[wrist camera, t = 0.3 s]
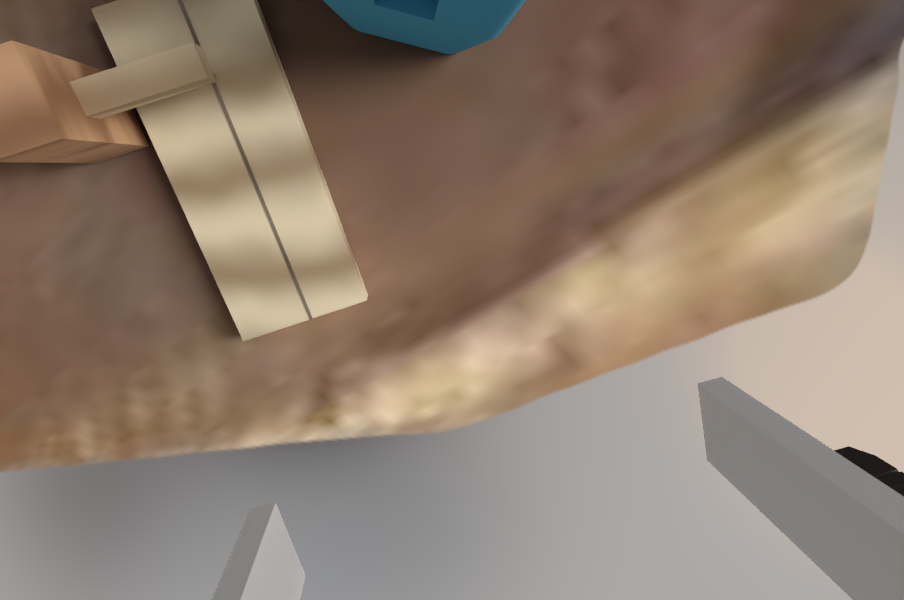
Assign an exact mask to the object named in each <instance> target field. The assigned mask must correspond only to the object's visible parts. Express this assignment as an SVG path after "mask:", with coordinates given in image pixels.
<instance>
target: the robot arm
mask: <svg viewBox="0 0 904 600" xmlns="http://www.w3.org/2000/svg"><path fill="white" fill-rule="evenodd" d="M698 390H699V398H700V406H701V413H702V421H703V430H704V438H705V446H706V453H707V460H708V461H709V462H710V463H711V464H712V465H713V466H714V467H715V468H716V469H717V470H718V471H719V472H720V473H721V474H722V475H723V476H724V477H725V478H726V479H728V481H729V482H730V483H732V484H733V485H734V486H735V487H736V488H737V489H738V490H739V491H740V492H741V493H742V494H743V495H744V496H745V497H746V498H747V499H748V500H749V501H750V502H751V503H752V504H753V505H755V506H756V507H757V508H758V509H759V510H760V511H761V512H762V513H763V514H764V515H765V516H766V517H767V518H768V519H769V520H770V521H771V522H772V523H773V524H774V525H775V526H776V527H778V528H779V529H780V530H781V531H782V532H783V533H784V534H785V535H786V536H787V537H788V538H789V539H790V540H791V541H792V542H793V543H794V544H795V545H796V546H797V547H798V548H800V549H801V550H802V551H803V552H804V553H805V554H806V555H807V556H808V557H809V558H810V559H811V560H812V561H813V562H814V563H815V564H816V565H817V566H818V567H819V568H820V569H821V570H822V571H824V572H825V573H826V574H827V575H828V576H829V577H830V578H831V579H832V580H833V581H834V582H835V583H836V584H837V585H838V586H839V587H840V588H841V589H842V590H843V591H844V592H845V593H847V594H848V595H849V596H850V597H851V598H852V599H853V600H904V473H903V472H898V470H897V469H896V468H895V467H893V466H891V465H890V464H888V463H886V462H885V461H883V460H882V459H880V458H878V457H877V456H875V455H871V454H869V453H866V452H863V451H860V450H857V449H854V448H851V447H845V448H842V449H839V450H835V451H834V450H832V449H831V448H829V447H828V446H826V445H825V444H823V443H821V442H820V441H818V440H817V439H815V438H814V437H812V436H811V435H809V434H808V433H806V432H805V431H803V430H802V429H800V428H798V427H797V426H796V425H794V424H793V423H791V422H789V421H788V420H786V419H785V418H783V417H782V416H780V415H779V414H777V413H776V412H774V411H773V410H771V409H769V408H768V407H767V406H765V405H764V404H762V403H761V402H759V401H757V400H756V399H754V398H753V397H751V396H750V395H748V394H747V393H745V392H744V391H742V390H741V389H739V388H738V387H736V386H735V385H733V384H732V383H730V382H729V381H727V380H726V379H724V378H722V377H720V378H716V379H712V380H709V381H705V382H702V383H698ZM304 580H305V574H304V571H303V569H302V566H301V564H300V561H299V559H298V556H297V554H296V551H295V549H294V547H293V544H292V542H291V540H290V537H289V534H288V532H287V529H286V527H285V525H284V522H283V520H282V517H281V515H280V512H279V510H278V508H277V505H276V503H272V504H268V505H265V506H261V507H258V508H254V509H250V511H249V513H248V516H247V518H246V520H245V523H244V525H243V528H242V530H241V532H240V534H239V537H238V539H237V541H236V544H235V546H234V549H233V551H232V553H231V556H230V558H229V560H228V563H227V565H226V568H225V570H224V572H223V574H222V577H221V579H220V582H219V584H218V586H217V588H216V591H215V593H214V595H213V598H212V600H300V598H301V593H302V589H303V585H304Z"/></svg>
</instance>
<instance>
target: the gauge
mask: <svg viewBox="0 0 904 600" xmlns="http://www.w3.org/2000/svg"><path fill="white" fill-rule="evenodd" d="M216 80H217V77H216V75H215V73H213V72H212V70H211V68H210V65H209V63H208V60H207V58H206V55H205V53H204V51H203V48H202V47H200V46H198V45H197V44H195V43H193V42H192V43H189V44H186V45H183V46H180V47H177V48H173V49H170V50H167V51H164V52H161V53H158V54H155V55H152V56H148V57H145V58H142V59H139V60H136V61H133V62H130V63H127V64H123V65H120V66H117V67H114V68H111V69H108V70H105V71H104V70H101V69H98V68H95V67H92V66H89V65H86V64H83V63H80V62H77V61H74V60H71V59H68V58H64V57H61V56H58V55H55V54H52V53H49V52H46V51H43V50H40V49H37V48H34V47H31V46H28V45H25V44H22V43H19V42H16V41H13V40H12V41H8V42H5V43H2V44H0V162H29V163H99V162H102V161H105V160H108V159H111V158H114V157H117V156H120V155H124V154H127V153H130V152H133V151H136V150H139V149H142V148H145V147H148V146H149V144H148V142H147V140H146V137H145V135H144V133H143V131H142V129H141V127H140V124H139V122H138V120H137V118H136V116H135V114H134V111H133V108H136V107H139V106H142V105H145V104H148V103H151V102H155V101H158V100H161V99H164V98H167V97H170V96H173V95H176V94H179V93H182V92H186V91H189V90H192V89H195V88H198V87H201V86H204V85H207V84H214V83H215V82H216Z"/></svg>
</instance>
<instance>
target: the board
mask: <svg viewBox="0 0 904 600" xmlns="http://www.w3.org/2000/svg"><path fill="white" fill-rule="evenodd" d="M91 10H92V13H93V15H94V17H95V19H96V21H97V24H98V26H99V28H100V30H101V32H102V34H103V37H104V39H105V41H106V43H107V45H108V48H109V50H110V52H111V54H112V56H113V58H114V61H115V63H116V65H117V66H120V65H123V64H127V63H130V62H133V61H136V60H139V59H142V58H145V57H148V56H152V55H155V54H158V53H161V52H164V51H167V50H170V49H173V48H177V47H180V46H183V45H186V44H189V43H192V42H193V43H195V44H197V45H198V46H200V47H202V48H203V51H204V53H205V55H206V58H207V60H208V63H209V65H210V68H211V70H212V72H213V73H215V75H216V77H217V80H216V82H215V83H214V84H207V85H204V86H201V87H198V88H195V89H192V90H189V91H186V92H182V93H179V94H176V95H173V96H170V97H167V98H164V99H161V100H158V101H155V102H151V103H148V104H145V105H142V106H139V107H136V109H137V111H138V113H139V115H140V117H141V119H142V122H143V124H144V126H145V128H146V130H147V133H148V135H149V137H150V139H151V141H152V143H153V146H154V148H155V150H156V152H157V154H158V157H159V159H160V161H161V163H162V165H163V167H164V170H165V172H166V174H167V176H168V178H169V181H170V183H171V185H172V187H173V189H174V191H175V194H176V196H177V198H178V200H179V202H180V204H181V207H182V209H183V211H184V213H185V215H186V218H187V220H188V222H189V224H190V226H191V228H192V231H193V233H194V235H195V237H196V239H197V242H198V244H199V246H200V248H201V250H202V252H203V255H204V257H205V259H206V261H207V263H208V266H209V268H210V270H211V272H212V274H213V276H214V279H215V281H216V283H217V285H218V287H219V289H220V292H221V294H222V296H223V298H224V300H225V303H226V305H227V307H228V309H229V311H230V313H231V316H232V318H233V320H234V322H235V324H236V327H237V329H238V331H239V333H240V335H241V337H242V340H243V341H246V340H249V339H252V338H255V337H258V336H261V335H264V334H267V333H270V332H273V331H276V330H279V329H282V328H285V327H288V326H291V325H294V324H297V323H300V322H303V321H306V320H309V319H313V318H315V317H318V316H321V315H324V314H327V313H330V312H333V311H336V310H339V309H342V308H345V307H348V306H351V305H355V304H358V303H361V302H364V301H367V297H368V293H367V291H366V288H365V285H364V283H363V280H362V277H361V275H360V272H359V269H358V267H357V264H356V261H355V259H354V256H353V253H352V251H351V248H350V245H349V243H348V240H347V237H346V235H345V232H344V229H343V227H342V224H341V221H340V219H339V216H338V213H337V211H336V208H335V205H334V203H333V200H332V197H331V195H330V192H329V189H328V187H327V184H326V181H325V179H324V176H323V173H322V171H321V168H320V165H319V163H318V160H317V157H316V155H315V152H314V149H313V147H312V144H311V141H310V139H309V136H308V133H307V131H306V128H305V125H304V123H303V120H302V117H301V115H300V112H299V109H298V107H297V104H296V101H295V99H294V96H293V93H292V91H291V88H290V85H289V83H288V80H287V77H286V75H285V72H284V69H283V67H282V64H281V61H280V59H279V56H278V53H277V51H276V48H275V45H274V43H273V40H272V37H271V35H270V32H269V29H268V27H267V24H266V21H265V19H264V16H263V13H262V11H261V8H260V5H259V3H258V0H117V1H114V2H110V3H107V4H104V5H101V6H98V7H95V8H92V9H91Z"/></svg>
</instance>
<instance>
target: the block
mask: <svg viewBox="0 0 904 600" xmlns="http://www.w3.org/2000/svg"><path fill="white" fill-rule="evenodd" d="M323 1H324V2H325V3H326V4H327V5H328V6H329V7H330V8H331V9H333V10H334V11H335V12H336V13H337V14H338V15H339V16H340V17H341V18H342V19H343V20H344V21H345V22H346V23H348V24H349V25H350V26H351V27H352V28H353V29H355V30H357V31H359V32H363V33H367V34H371V35H375V36H379V37H382V38H386V39H390V40H394V41H398V42H402V43H406V44H409V45H413V46H417V47H421V48H425V49H429V50H432V51H436V52H440V53H444V54H449V55H451V54H455V53H458V52H460V51H463V50H465V49H468V48H470V47H473V46H475V45H478V44H481V43H483V42H486V41H488V40H491V39H493V38H495V37H497V36H498V35H499V34H500V33H501V32H502V31H503V29H504V28H505V27H506V25H507V24H508V23H509V21H510V20H511V19H512V17H513V16H514V15H515V14H516V12H517V11H518V10H519V8H520V7H521V6H522V4H523V3H524V2H525V0H323Z"/></svg>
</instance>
